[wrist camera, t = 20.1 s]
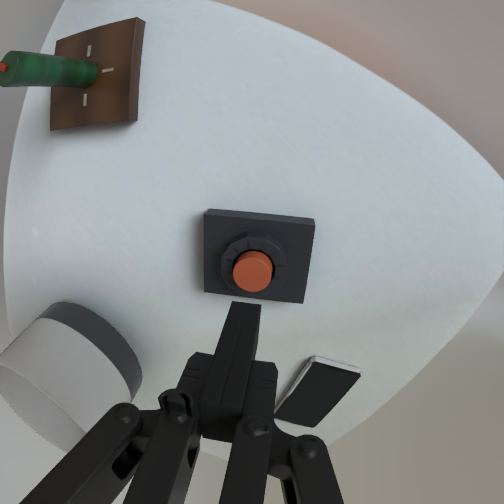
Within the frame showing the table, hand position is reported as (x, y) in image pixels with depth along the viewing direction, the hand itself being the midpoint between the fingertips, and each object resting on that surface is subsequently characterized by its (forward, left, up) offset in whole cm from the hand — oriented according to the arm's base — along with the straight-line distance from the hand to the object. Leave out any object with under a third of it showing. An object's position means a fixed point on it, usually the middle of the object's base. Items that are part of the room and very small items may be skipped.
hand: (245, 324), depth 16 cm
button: (+1, +4, -14) cm, 14 cm away
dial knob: (+21, -16, -15) cm, 31 cm away
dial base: (+21, -16, -17) cm, 32 cm away
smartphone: (-9, +26, -18) cm, 32 cm away
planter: (+26, +23, -18) cm, 39 cm away
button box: (+1, +4, -17) cm, 18 cm away
